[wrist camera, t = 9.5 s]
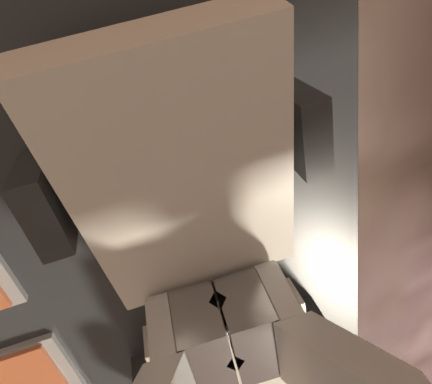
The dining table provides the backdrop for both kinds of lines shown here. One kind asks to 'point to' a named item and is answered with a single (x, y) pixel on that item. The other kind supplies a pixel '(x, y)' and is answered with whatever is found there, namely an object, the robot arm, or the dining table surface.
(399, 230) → the dining table surface
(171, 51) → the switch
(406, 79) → the dining table surface
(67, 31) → the switch unit
